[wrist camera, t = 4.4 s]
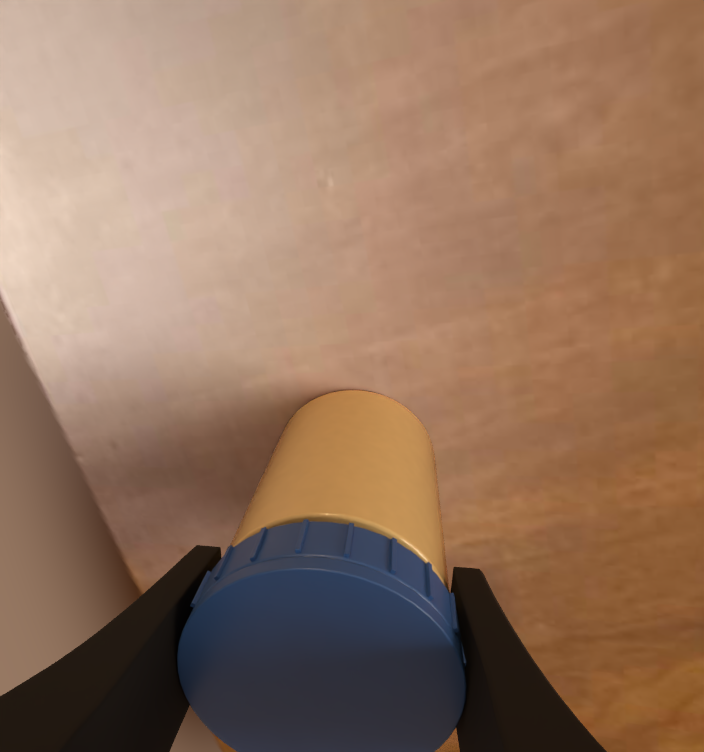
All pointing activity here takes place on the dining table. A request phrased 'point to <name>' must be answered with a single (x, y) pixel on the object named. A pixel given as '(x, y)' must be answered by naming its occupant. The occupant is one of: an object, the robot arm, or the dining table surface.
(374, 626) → the lid
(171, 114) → the dining table surface
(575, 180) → the dining table surface
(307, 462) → the jar
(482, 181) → the dining table surface
